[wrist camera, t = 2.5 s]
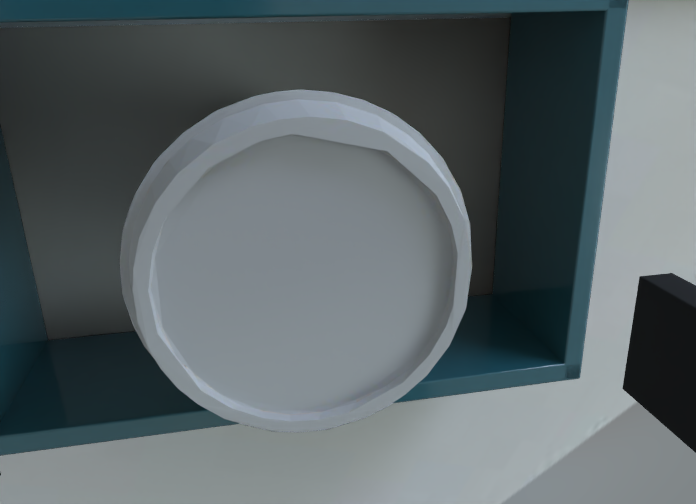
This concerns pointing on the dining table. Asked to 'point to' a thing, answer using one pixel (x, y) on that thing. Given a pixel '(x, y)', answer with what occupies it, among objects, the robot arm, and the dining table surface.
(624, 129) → the dining table surface
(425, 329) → the disposable coffee cup
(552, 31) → the teal open box
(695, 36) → the dining table surface
